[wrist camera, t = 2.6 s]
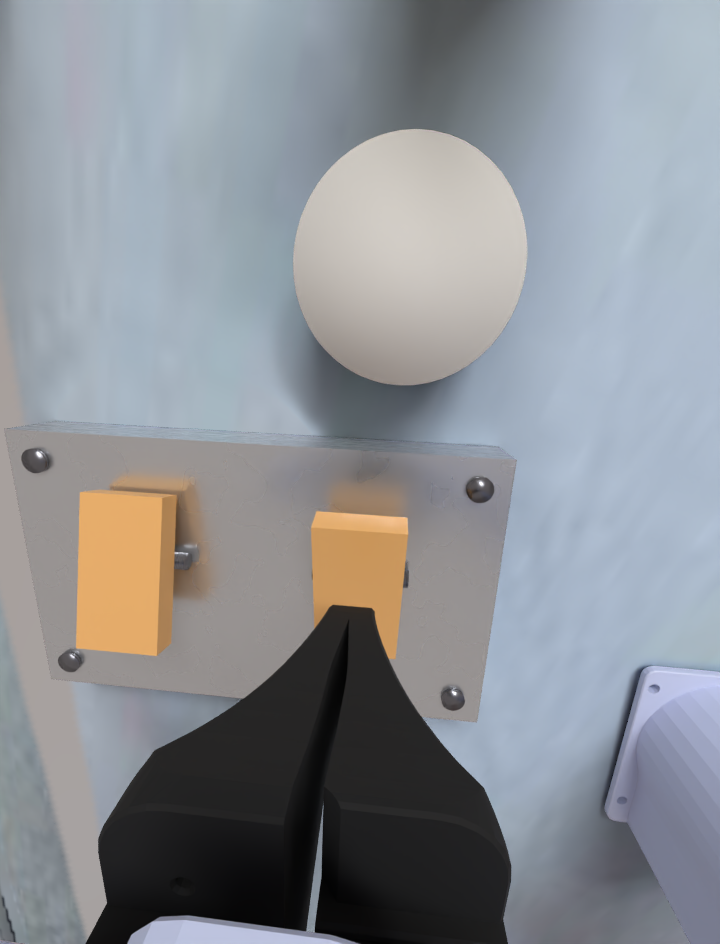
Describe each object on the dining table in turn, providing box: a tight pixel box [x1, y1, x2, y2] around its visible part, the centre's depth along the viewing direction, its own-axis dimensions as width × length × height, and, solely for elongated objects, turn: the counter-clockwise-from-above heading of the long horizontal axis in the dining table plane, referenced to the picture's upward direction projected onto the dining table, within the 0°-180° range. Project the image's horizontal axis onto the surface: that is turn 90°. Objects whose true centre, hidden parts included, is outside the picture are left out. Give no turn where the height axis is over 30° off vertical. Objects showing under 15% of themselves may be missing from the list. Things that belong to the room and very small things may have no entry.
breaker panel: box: [4, 421, 517, 722], centre depth 17 cm, size 12×20×3 cm, turn 88°
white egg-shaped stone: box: [293, 129, 527, 385], centre depth 14 cm, size 7×7×4 cm
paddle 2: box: [311, 511, 408, 659], centre depth 15 cm, size 6×3×1 cm, turn 177°
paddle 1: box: [76, 490, 177, 656], centre depth 15 cm, size 6×3×1 cm, turn 179°
